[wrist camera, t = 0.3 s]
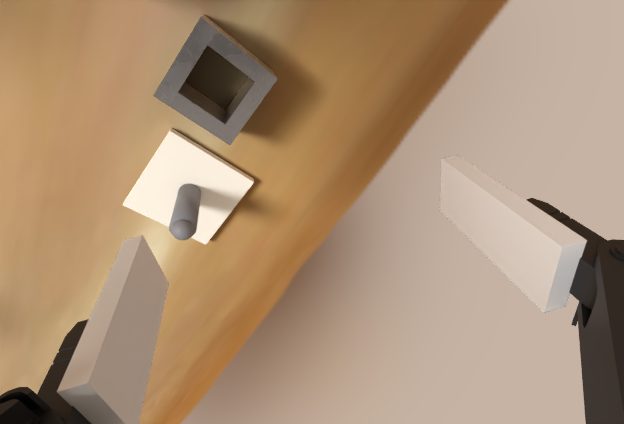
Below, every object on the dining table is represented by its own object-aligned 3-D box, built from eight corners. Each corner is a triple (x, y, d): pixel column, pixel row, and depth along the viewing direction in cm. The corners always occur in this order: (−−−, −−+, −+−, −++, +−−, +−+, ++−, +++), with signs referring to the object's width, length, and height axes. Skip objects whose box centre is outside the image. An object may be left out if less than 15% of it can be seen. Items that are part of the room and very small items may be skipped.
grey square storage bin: (162, 83, 33) (153, 95, 29) (204, 14, 31) (201, 16, 27) (229, 128, 37) (230, 145, 32) (271, 69, 34) (277, 78, 30)
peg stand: (124, 200, 38) (98, 250, 30) (171, 127, 35) (156, 163, 28) (206, 239, 43) (201, 292, 35) (253, 178, 40) (259, 220, 32)
